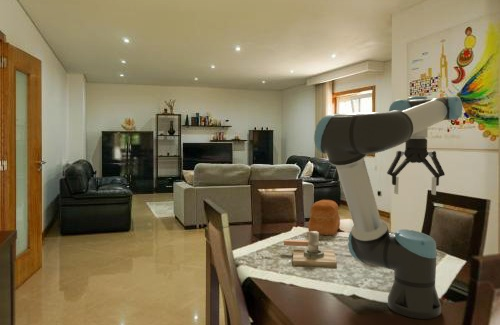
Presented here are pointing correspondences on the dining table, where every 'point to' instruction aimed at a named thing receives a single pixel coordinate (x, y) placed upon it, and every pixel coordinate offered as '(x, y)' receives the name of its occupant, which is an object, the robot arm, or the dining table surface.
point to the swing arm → (295, 242)
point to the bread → (324, 217)
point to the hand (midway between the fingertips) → (414, 194)
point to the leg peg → (313, 242)
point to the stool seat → (314, 258)
